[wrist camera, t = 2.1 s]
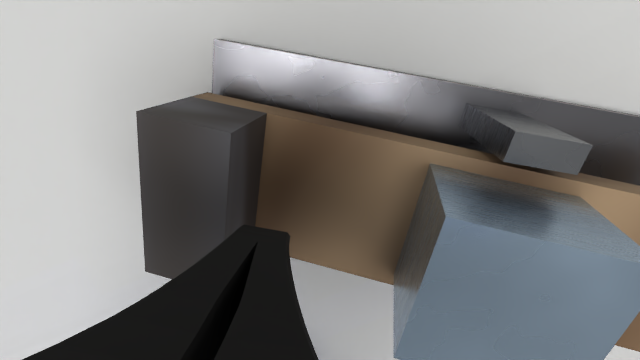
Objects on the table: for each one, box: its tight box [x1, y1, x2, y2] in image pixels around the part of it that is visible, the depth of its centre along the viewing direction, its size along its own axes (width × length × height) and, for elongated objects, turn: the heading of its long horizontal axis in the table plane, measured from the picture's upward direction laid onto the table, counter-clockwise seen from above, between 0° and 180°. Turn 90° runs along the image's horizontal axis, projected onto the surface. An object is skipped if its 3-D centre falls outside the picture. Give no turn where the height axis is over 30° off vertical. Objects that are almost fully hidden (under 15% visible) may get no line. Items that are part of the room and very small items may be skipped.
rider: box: [394, 163, 640, 360], centre depth 11 cm, size 5×5×4 cm
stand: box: [212, 39, 640, 186], centre depth 14 cm, size 24×10×5 cm, turn 81°
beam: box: [136, 92, 640, 352], centre depth 12 cm, size 24×6×4 cm, turn 81°
